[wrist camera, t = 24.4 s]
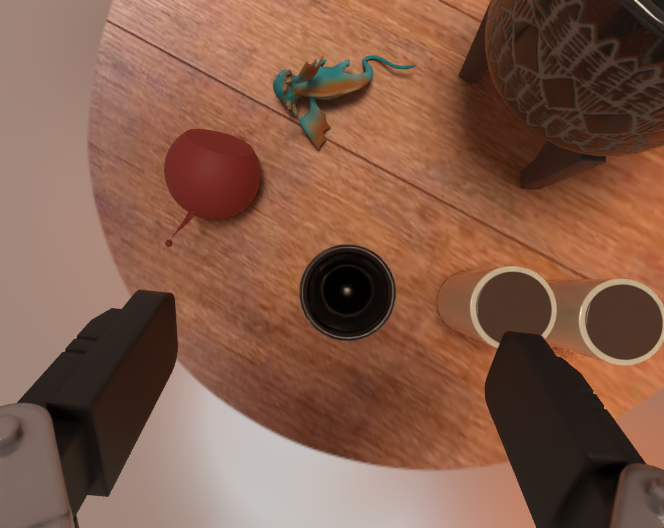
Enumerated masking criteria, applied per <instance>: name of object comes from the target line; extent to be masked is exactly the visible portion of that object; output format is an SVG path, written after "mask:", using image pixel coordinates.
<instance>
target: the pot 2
mask: <svg viewBox="0 0 664 528" xmlns="http://www.w3.org/2000/svg"><path fill="white" fill-rule="evenodd" d="M546 282H547V283H548V285H549V286H550V288H551V289H552V291H553V294H554V296H555V300H556V306H557V314H556V320H555V323H554V326H553V328H552V330H551V332H550V333H549V335H548V336H547V337H546V338H545V340H546V342H547V343H548V344H549V346H553V347H556V348H560V349H563V350H567V351H570V352H573V353H577V354H580V355H584V356H587V357H590V358H594V359H597V360H601V361H604V362H607V363H611V364H615V365H623V366H627V365H634V364H638V363H641V362H643V361H645V360H647V359H649V358H650V357H651V356H653V355H654V354H655V353H656V352H657V351H658V349H659V348H660V347H661V345H662V343H663V341H664V306H663V304H662V302H661V300H660V299H659V297H658V296H657V295H656V294H655V293H654V292H653V291H652V290H651V289H650V288H649V287H647V286H646V285H644V284H642V283H640V282H638V281H635V280H631V279H625V278H615V279H580V280H546Z"/></svg>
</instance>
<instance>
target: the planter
mask: <svg viewBox="0 0 664 528" xmlns="http://www.w3.org/2000/svg"><path fill="white" fill-rule="evenodd" d="M488 69H489V72H490V75H491V78H492V81H493V84H494V86H495V88H496V90H497V92H498V94H499V96H500V98H501V100H502V102H503V103H504V104H505V106H506V107H507V108H508V110H509V111H510V112H511V114H512V115H513V116H514V117H515V118H516V119H517V120H518V121H519V122H520V123H521V124H522V125H523V126H524V127H525V128H526V129H528V130H529V131H531V132H532V133H533V134H535V135H536V136H538V137H539V138H540V139H542V140H544V141H546V142H545V144H544V146H543V148H542V149H541V151H540V152H539V154H538V155H537V157H536V158H535V160H534V161H533V162H532V163H531V164H530V165H529V166H528V167H527V168H526V169H525V170H524V171H523V172H522V173H521V188H528V189H540V188H543V187H545V186H548V185H550V184H553V183H555V182H558V181H560V180H563V179H565V178H567V177H570V176H572V175H575V174H577V173H580V172H582V171H585V170H587V169H590V168H592V167H595V166H597V165H599V164H602V163H604V162H606V156H624V155H631V154H638V153H641V152H645V151H648V150H651V149H654V148H658V147H661V146H663V145H664V0H491V2H490V4H489V6H488V8H487V11H486V13H485V15H484V18H483V20H482V22H481V25H480V27H479V29H478V32H477V34H476V36H475V39H474V41H473V43H472V46H471V48H470V50H469V52H468V55H467V57H466V59H465V62H464V64H463V66H462V69H461V71H460V73H459V76H460V77H461V78H463V79H465V80H466V81H468V82H470V83H471V84H472V83H473V82H474V81H475V80H476V79H477V78H478V77H479V76H480V75H481V74H482V73H484V72H485V71H486V70H488Z"/></svg>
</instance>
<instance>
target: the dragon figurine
mask: <svg viewBox="0 0 664 528" xmlns="http://www.w3.org/2000/svg"><path fill="white" fill-rule="evenodd" d="M322 59H323V56H322V58H321V60H320V61H319V62H317V63H316V59H315V61H314V62H313V63H312V64H311V65H310V64H308V62H306V63H305V65H304V66H303V68H302V70H301V71H300V73H299V75H298V76H294V75H293V74H292V72H291V71H290V70H283V71H281V72H280V73H279V74H278V75H277V76H276V78H275V80H274V82H273V88H274V91H275V93H276V95H277V97H278V98H279V99H280V100H281V101H283V102H284V103H286V105H285V106H288V107H287V110H288V109H289V110H291V109H293V113H294V112H295V115H296V114H297V112H298V111H297V104H296V102H297V100H298V99H299V97H301V96H307V97H310V106H311V108H310V111H309V113H308V114H307V115H305V116H303V117H302V118H300V120H299V122H300V124H301V126H302V128H303V129H304V131H305V132H306V134H307V135H308V137H309V138H310V140H311V141H312V142H313V144H314V145H315V146H316V148H317V149H318V150H320V146H321V144H322V143H323V142H324V141H326V139H325V137H324V136H323V132H324V131H325V130H326V129H331V127H330V126H329V125H328V124H327V123H326V120H325V116H326V115H325V114H323V113H322V112H321V110H320V108H319V107H318V105H317V103H316V99H323V100H331V99H335V98H338V97H340V96H342V95H344V94H347V93H349V92H352V91H356V90H359V89H360V88H361V87H363V86H365V85H366V84H368V82H369V81H370V80H371V79H372V77H373V70H372V67H371V66H370V65H369V64H368V63H367V62H366V61H367V60H370V59H376V60H379V61H382V62H384V63H386V64H387V65H389V66H391V67H393V68H396V69H409V68H413V67H415V66H416V65H411V66H400V65H394V64H392V63H390V62H389V61H387V60H385V59H383V58H381V57H378V56H367V57H365V58H364V59H363V61H362V63H363V66H364V68H365V70H366V72H364V73H363V74H360V75H353V74H347V73H344V70H345V68H346V67H348V66H349V62H350V60H346V61H344V62H341V63H339V64H337V65H336V66H334V67H331V68H329V67H323V65H324V64H325V61H326V60H322ZM320 66H322V67H321V68H320Z"/></svg>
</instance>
